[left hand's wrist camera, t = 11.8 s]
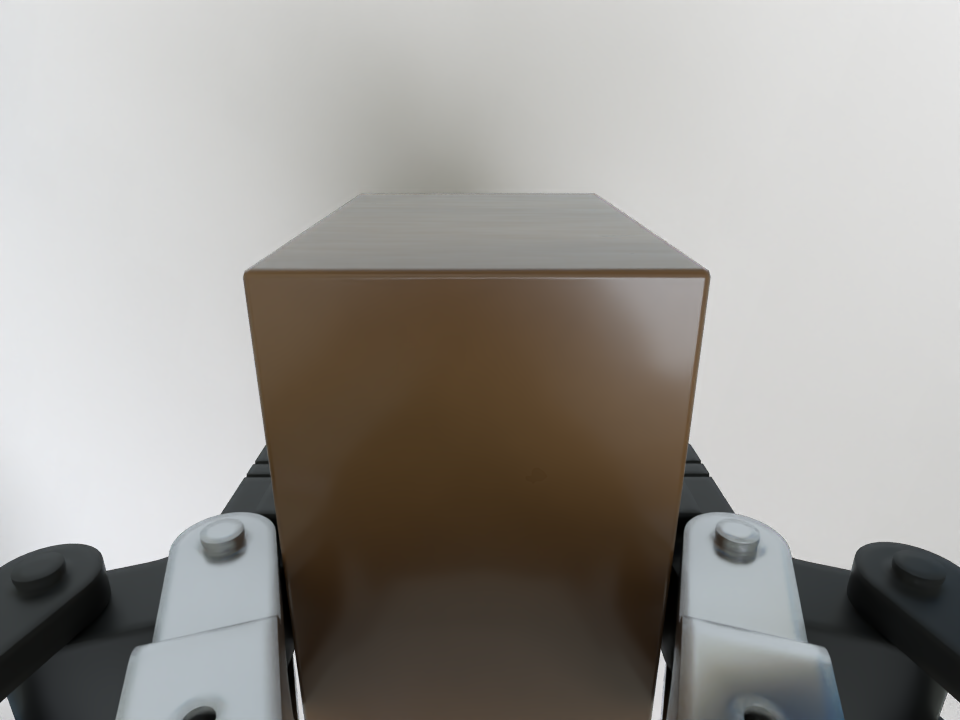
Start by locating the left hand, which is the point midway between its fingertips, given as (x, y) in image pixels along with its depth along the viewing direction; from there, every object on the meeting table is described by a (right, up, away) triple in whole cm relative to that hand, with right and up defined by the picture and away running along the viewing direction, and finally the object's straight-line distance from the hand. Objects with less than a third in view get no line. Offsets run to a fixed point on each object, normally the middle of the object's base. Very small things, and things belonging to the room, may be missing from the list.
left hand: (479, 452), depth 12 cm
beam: (0, -21, +10) cm, 24 cm away
